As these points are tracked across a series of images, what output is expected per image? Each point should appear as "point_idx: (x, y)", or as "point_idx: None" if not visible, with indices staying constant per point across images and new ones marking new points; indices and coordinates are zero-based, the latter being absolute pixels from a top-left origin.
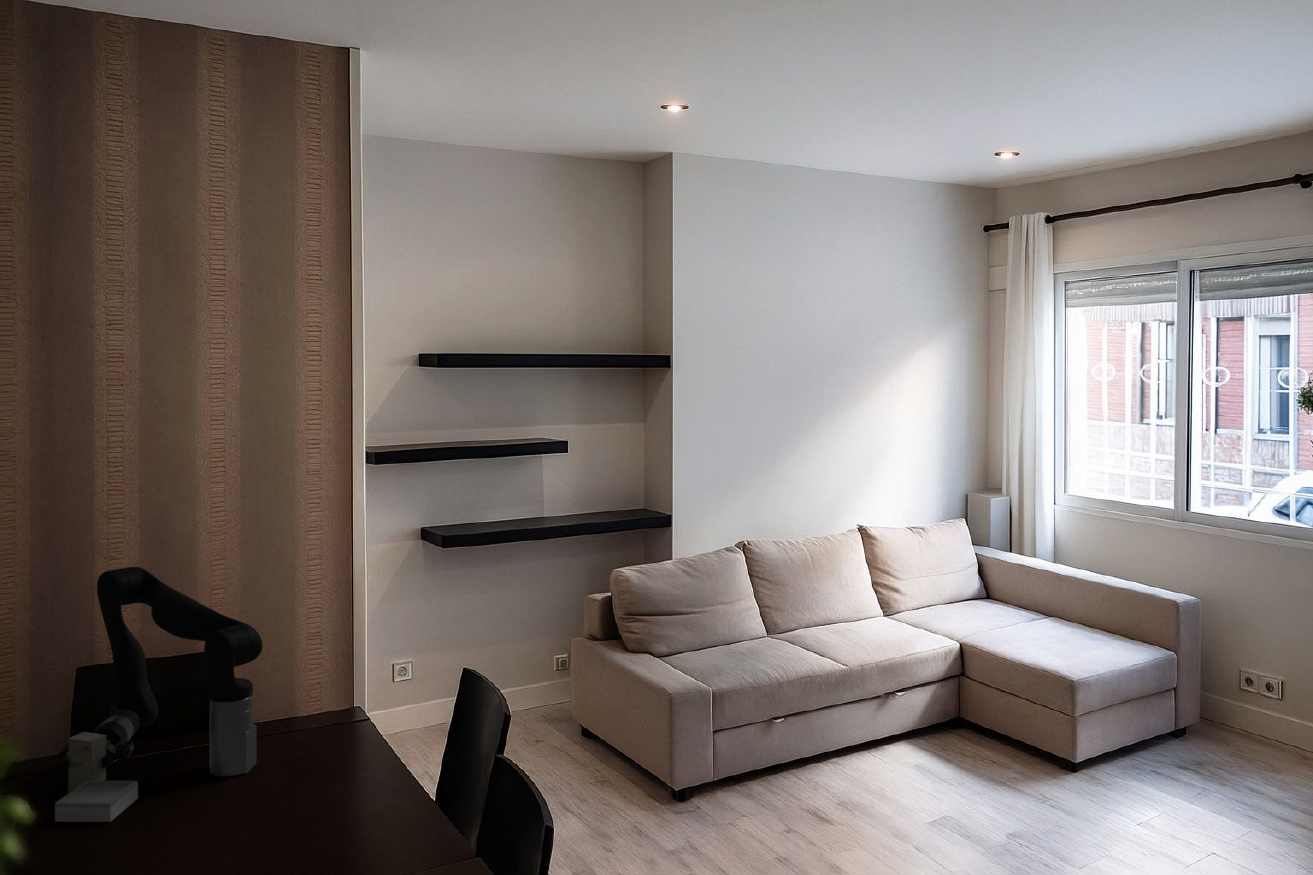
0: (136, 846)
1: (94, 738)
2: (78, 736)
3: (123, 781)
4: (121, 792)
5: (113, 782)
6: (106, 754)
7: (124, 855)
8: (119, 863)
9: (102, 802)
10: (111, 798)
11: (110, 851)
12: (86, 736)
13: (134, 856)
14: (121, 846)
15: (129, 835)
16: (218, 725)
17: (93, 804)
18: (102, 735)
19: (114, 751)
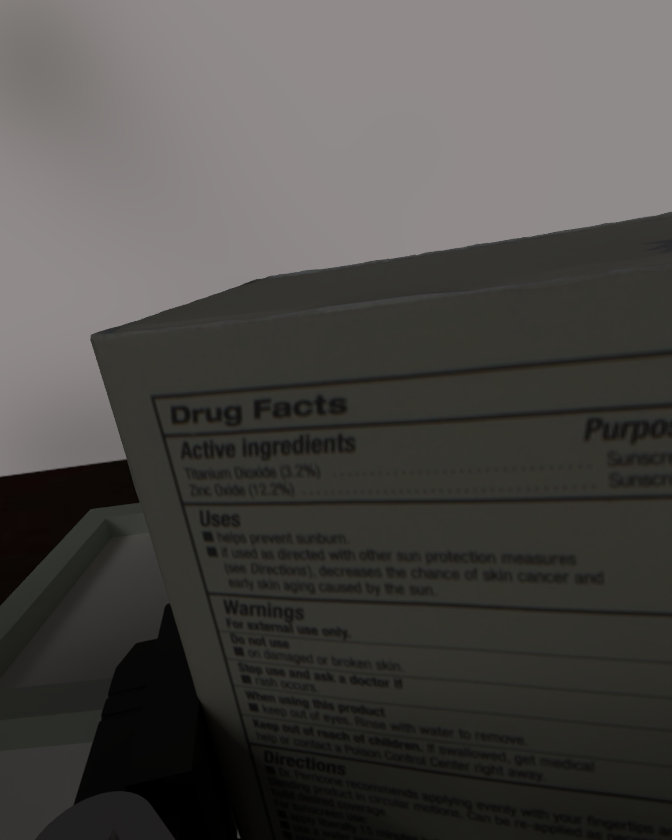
0: (9, 515)
1: (260, 287)
2: (603, 235)
3: (16, 705)
4: (35, 582)
5: (105, 680)
6: (193, 705)
7: (46, 489)
8: (59, 471)
9: (132, 510)
10: (103, 583)
11: (89, 492)
12: (446, 260)
13: (18, 490)
14: (56, 508)
15: (29, 546)
16: None
17: None
18: (165, 322)
19: (55, 820)
